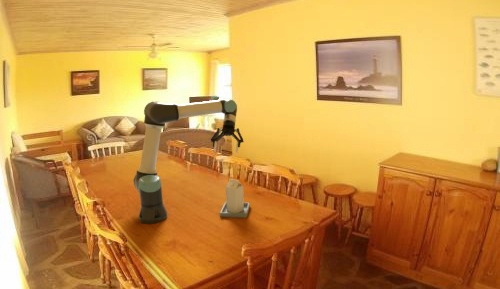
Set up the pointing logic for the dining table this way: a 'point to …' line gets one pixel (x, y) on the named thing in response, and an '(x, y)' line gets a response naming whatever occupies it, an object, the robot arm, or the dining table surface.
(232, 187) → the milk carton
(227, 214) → the gray square tray
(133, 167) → the dining table surface
